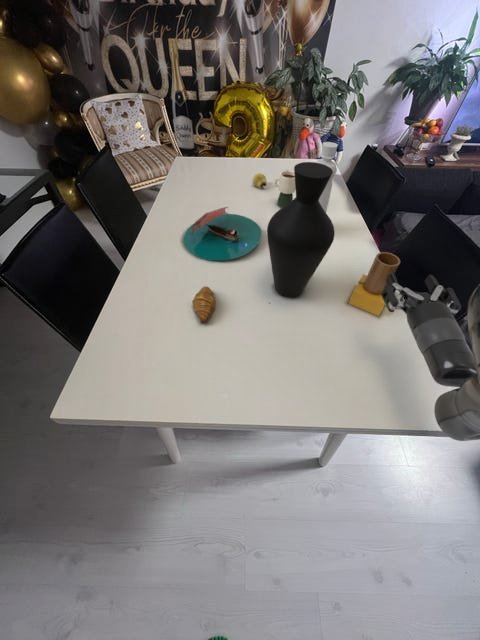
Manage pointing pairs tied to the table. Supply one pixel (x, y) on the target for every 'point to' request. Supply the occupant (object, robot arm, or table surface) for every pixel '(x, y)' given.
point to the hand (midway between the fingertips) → (408, 276)
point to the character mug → (285, 187)
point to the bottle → (327, 156)
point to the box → (366, 299)
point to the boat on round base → (222, 236)
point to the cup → (380, 272)
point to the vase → (300, 231)
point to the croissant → (204, 304)
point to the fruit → (259, 180)
